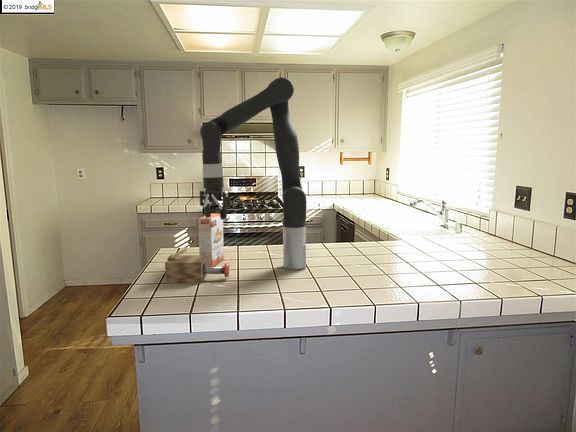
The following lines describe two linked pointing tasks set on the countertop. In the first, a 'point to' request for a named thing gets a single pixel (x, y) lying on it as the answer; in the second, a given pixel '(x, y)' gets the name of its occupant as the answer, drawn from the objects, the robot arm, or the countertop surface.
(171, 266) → the block
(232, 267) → the countertop surface
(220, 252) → the cracker box
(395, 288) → the countertop surface
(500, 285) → the countertop surface
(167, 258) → the lever
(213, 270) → the lynch pin
